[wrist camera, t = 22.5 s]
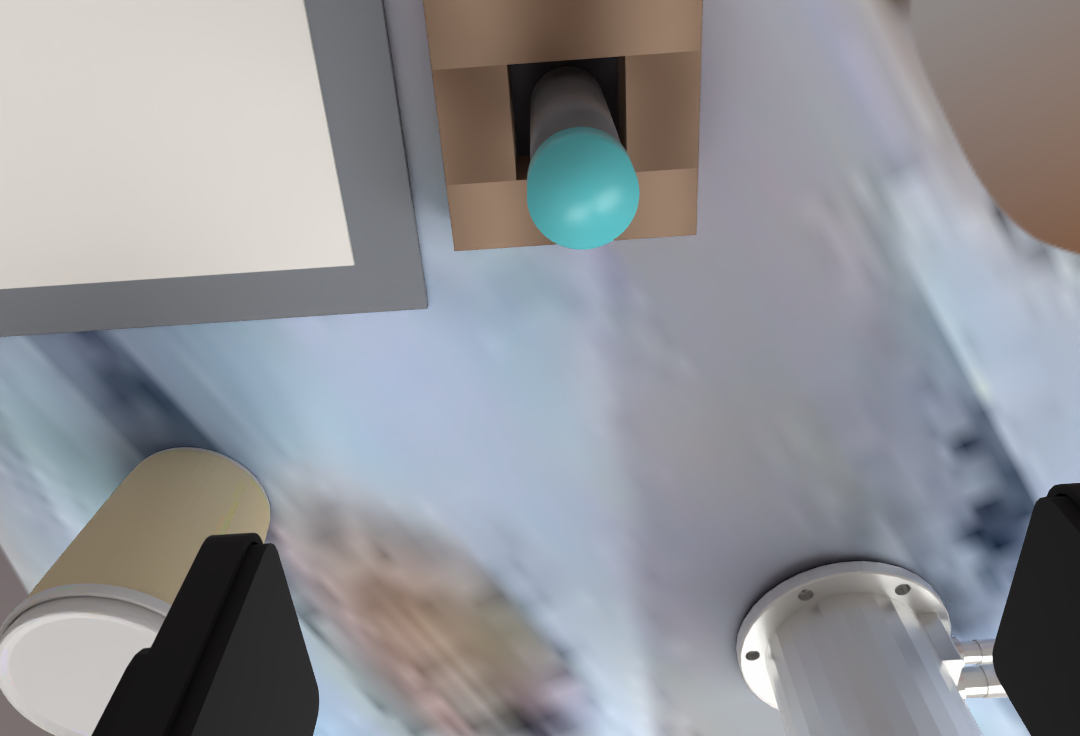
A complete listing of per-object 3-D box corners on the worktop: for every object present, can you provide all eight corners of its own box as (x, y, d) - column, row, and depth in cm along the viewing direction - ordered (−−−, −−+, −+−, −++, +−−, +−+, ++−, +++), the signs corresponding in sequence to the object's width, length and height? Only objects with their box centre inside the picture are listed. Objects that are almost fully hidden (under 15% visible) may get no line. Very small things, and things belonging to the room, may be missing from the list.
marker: (602, 54, 34) (639, 135, 23) (604, 132, 36) (639, 245, 24) (524, 60, 34) (522, 144, 23) (530, 138, 36) (531, 253, 25)
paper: (293, -54, 32) (292, -54, 32) (354, 263, 38) (354, 265, 38) (-170, -19, 32) (-174, -18, 32) (-32, 289, 39) (-35, 291, 38)
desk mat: (362, -137, 31) (361, -137, 30) (428, 304, 40) (427, 308, 39) (-273, -87, 31) (-282, -87, 31) (-67, 337, 40) (-72, 341, 40)
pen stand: (687, -41, 32) (703, -34, 29) (682, 206, 37) (696, 234, 34) (431, -22, 33) (421, -13, 30) (460, 221, 38) (454, 251, 35)
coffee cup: (149, 575, 48) (43, 765, 38) (82, 443, 43) (-58, 618, 33) (307, 558, 48) (244, 745, 37) (257, 422, 43) (169, 593, 33)
